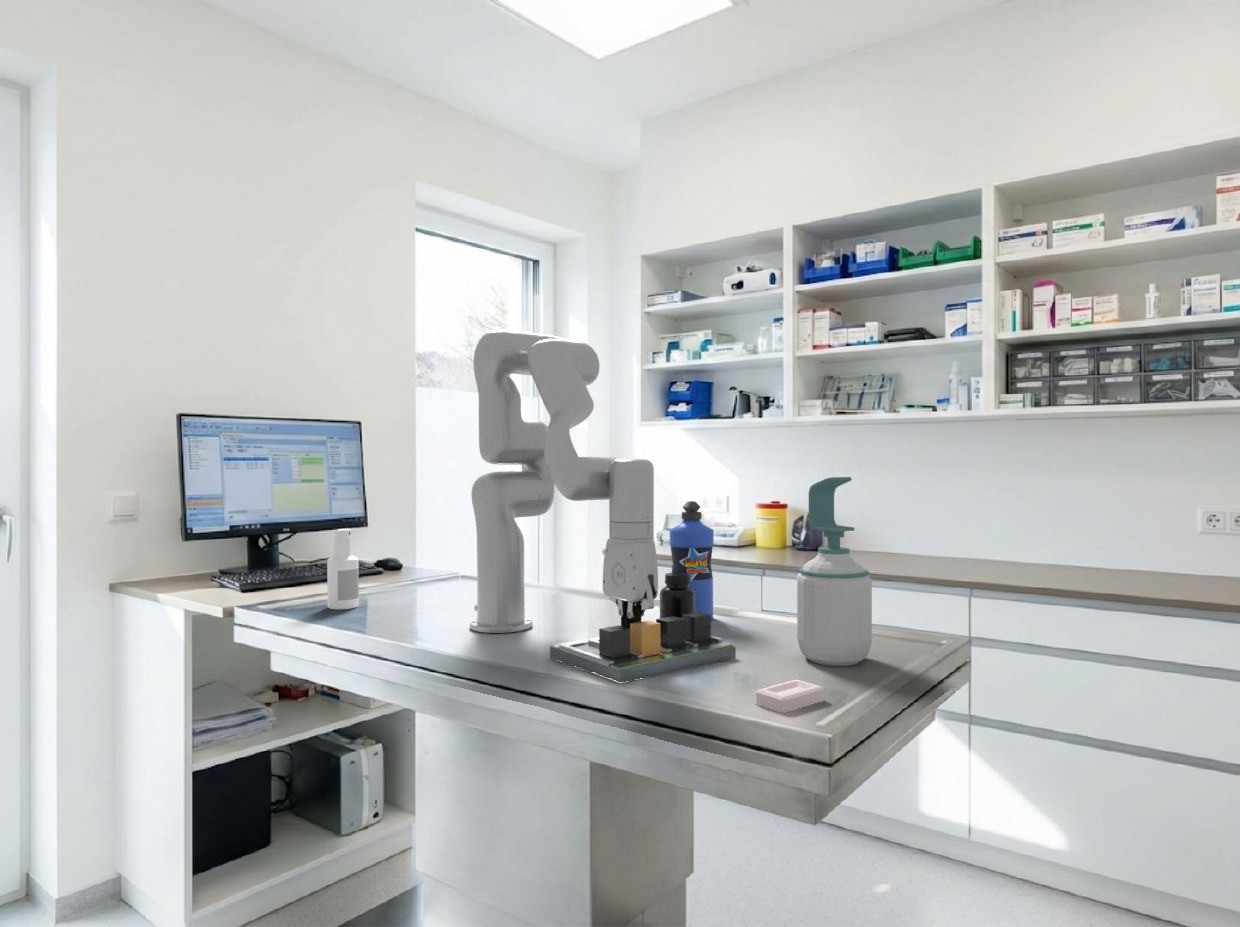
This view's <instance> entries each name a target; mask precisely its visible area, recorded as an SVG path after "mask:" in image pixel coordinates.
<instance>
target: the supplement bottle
mask: <svg viewBox="0 0 1240 927" xmlns="http://www.w3.org/2000/svg"><path fill="white" fill-rule="evenodd" d="M664 575H665V576H664V577H665V578H664V584H665V586H664V587H663V588H662V589H661V590H660V592H659V619H660V618H666V617H672V616H675V617H679V618H682V615H684V614H690V613H695V592H694V590H693V589H692V588H690V587H689V584H690V574H688V573H672V572H667V573H665V574H664Z"/></svg>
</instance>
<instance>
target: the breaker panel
mask: <svg viewBox="0 0 1240 927" xmlns="http://www.w3.org/2000/svg"><path fill="white" fill-rule="evenodd" d="M655 622H657V623H660V654H656V655H651V656H646V657H643V654H639V653H636V652H633V651H630V628H627V627H623V626H621V625H614V626H608V627H602V628H598V629H599V630H598V632H599V634H598V635H599V636H596V637H592V638H591V637H590V638H585V639H579V640H573V641H568V642H563V643H561V642H560V643H556V644H555V643H554V644H551V646H549V658H550V659H551V660H555V661H557V660H559V661H558V662H560V661H562V662H564V663H563V664H565V663H566V665H568V664H569V665H568V666H570V665H572V667H573V666H576V667H578V668H577V669H579V668H581V669H584V670H587V671H589V672H595V673H597V674H599V675H602V676H604V677H607V678H611V679H613V680H616V681H618V682H626V681H631V680H635V679H640V678H645V679H648V678H652V677H657V676H663V675H665V674H671V673H674V672H675V673H676V672H680V671H685V670H689V669H693V668H694V669H695V668H696V667H697V668H698V667H702V666H706V665H711V664H716V663H719V662H725V661H729V660H733V659H736V657H737V656H736V655H737V654H736V645H735V646H734V644H733V643H731V642H725V641H724V638H723V637H722V638H721V637H718V636H713V635H712V621H711V614H706V613H702V612H695V613H690V614H684V615H682V618H679V617H675V616H672V617H666V618H660V617H659V618H656V619H655ZM562 662H561V663H562ZM576 667H575V668H576ZM581 669H580V670H581ZM584 670H583V671H584ZM587 671H586V672H587ZM589 672H588V673H589ZM640 680H641V679H640ZM631 682H632V681H631Z"/></svg>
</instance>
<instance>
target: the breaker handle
mask: <svg viewBox="0 0 1240 927" xmlns="http://www.w3.org/2000/svg"><path fill="white" fill-rule="evenodd" d="M630 651H633V652H636V653H639V654H643V657H646V656H651V655H656V654H660V623H657V622H656V621H652V620H644V621H641V622H637V623H631V624H630Z"/></svg>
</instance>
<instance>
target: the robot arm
mask: <svg viewBox="0 0 1240 927" xmlns="http://www.w3.org/2000/svg"><path fill="white" fill-rule="evenodd" d="M472 364H473V372H474V374H473V375H474V379H475V383H476V387H477V388H476V389H477V394H478V447H479V454H480V456H481V459H482V460H483V461H485V463H487V464H491V465H497V466H498V465H499V466H513V465H514V466H516V465H517V466H518V465H519V466H521V471H513V470H512V471H511V470H508V471H492V472H491V471H490V472H486V473H485V474H482V475H480V476H479V477H478V478H477V479H476V480H475V481H474V483H473V484H472V487H471V495H470V496H471V503H472V509H473V514H474V520H475V527H476V564H477V565H476V567H477V568H476V570H477V571H476V573H477V574H476V576H477V577H476V582H477V583H476V589H477V593H476V594H477V595H476V596H477V597H476V598H477V599H476V600H477V602H476V603H477V604H475V605H474V608H473V609H474V611H475V612H477V614H476V615H477V618H475V619H473V620H470V622H469V628H470V629H471V630H472V631H475V632H479V633H487V634H503V633H504V634H505V633H515V632H522V631H525V630H528V629H530V628H532V626H533V620H532V619H531V618H530V617H527V616H525V615H526V614H525V612H526V610H525V604H526V603H525V539H524V536H523V533H522V531H521V529H520V527H519V525H518V523H517V522H516V520H515V519H516V518H529V517H537V516H542V515H544V514H547V513H548V512H549V510H550V509H551V508H552V506H553V502H554V499H555V498H554V496H555V487H556V489H557V490H558V492H559V493H560V494H561V496H563V497H564V498H566V499H568V500H570V501H576V502H581V501H582V502H583V501H584V502H585V501H599V500H600V501H604V500H605V501H606V500H609V506H608V507H609V508H608V509H609V510H608V512H609V514H608V515H609V518H608V519H609V525H608V526H609V528H608V530H609V534H608V535H609V538H607V540H606V544H605V550H604V558H603V564H602V565H603V567H602V592H603V593H604V595H606V597H609V600H610V601H612V602H613V603H614V604H615V605H616V606H617V610H618V614H619V616H620V626H623V627H627V628H630V624H631V623H637V622H642V617H644V615H645V612H646V610H651V609H654V608H655V602H654V600H655V599H657V596H658V592H659V568H658V567H659V566H658V558H657V557H658V556H657V549H656V544H655V540H654V539H655V538H654V534H655V533H654V524H655V522H654V521H655V520H654V519H655V518H654V517H655V516H654V512H655V511H654V508H655V506H654V504H655V503H654V502H655V501H654V500H655V499H654V498H655V496H654V494H655V487H654V486H655V484H654V483H655V482H654V481H655V472H654V470H655V468H654V464H653V462H651V461H650V460H648V459H644V458H621V457H615V456H579V454H578V452H577V451H576V448H575V446H574V445H573V442H572V439H571V434H570V430H571V429H572V428H574V427H576V426H578V425H580V424H581V423H583V422H585V420H587V419H588V418H589V417H590V416H591V414H592V413H593V411H594V408H595V407H594V406H595V404H594V401H593V398H592V396H591V394H590V392H589V389H588V387H587V386H589V385H591V384H593V383H594V382H595V381H596V380H597V378H598V377H599V373H600V367H601V366H600V359H599V356H598V354H597V352H596V350H594V348H593V347H592V346H591V345H589V344H587V343H585V342H581V341H576V340H571V339H568V338H563V337H559V336H555V335H550V334H544V333H542V334H541V333H534V332H528V331H521V330H513V329H512V330H511V329H497V330H491V331H489V332H486V333H485V334H483V336H481V338H479V340H478V342H477V344H476V347H475V349H474V353H473V363H472ZM511 374H513V375H514V374H515V375H522V376H531V378H532V379H533V382H534V384H535V386H536V389H537V391H538V393H539V397H540V398H541V400H542V402H543V403H542V404H543V405H544V407H545V410H546V412H547V414H548V417H549V420H550V421H549V423H548V425H547V424H546V423H544V422H543V421H541V420H537V419H534V418H533V419H531V418H523V417H522V407H521V406H522V400H521V394H520V392H519V389H518V387H517V385H516V383H515V382H514V380H513V379H512V378H511V376H510V375H511Z"/></svg>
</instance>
